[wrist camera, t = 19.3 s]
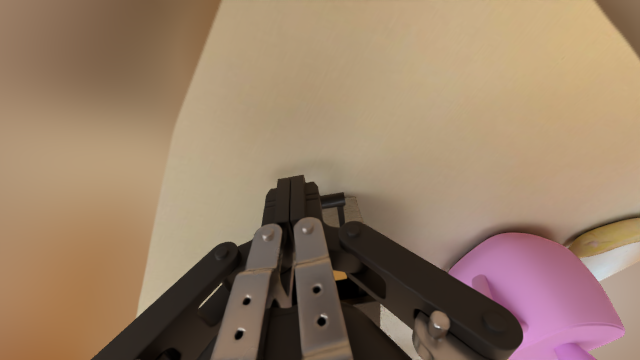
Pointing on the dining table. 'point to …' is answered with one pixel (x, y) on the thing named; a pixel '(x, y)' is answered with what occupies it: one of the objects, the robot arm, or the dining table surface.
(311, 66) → the dining table surface
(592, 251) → the fruit
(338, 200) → the cabinet drawer
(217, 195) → the dining table surface
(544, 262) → the teapot
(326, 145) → the dining table surface
